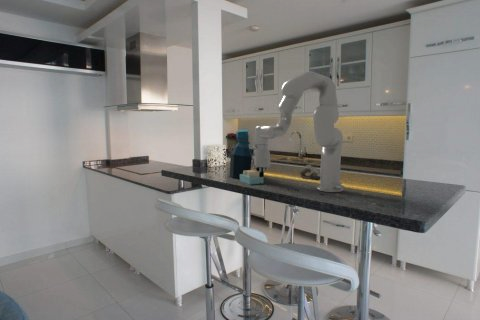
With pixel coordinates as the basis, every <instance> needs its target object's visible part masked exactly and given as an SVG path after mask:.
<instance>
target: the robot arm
mask: <svg viewBox="0 0 480 320" xmlns="http://www.w3.org/2000/svg"><path fill="white" fill-rule="evenodd" d="M308 90H310V91H315V92H318V94H319V95H318V101H319V102H318V103H319V105H318V106H317V107H316V108H315V109H314V111H313V116H312V119H313V130H314V138H315V141H316V143H317V144H318V146H320V147H321V153H320V155H321V156H320V171H321V173H320V179H319V180H320V181H319V185H318V186H316V190H318V191H320V192H325V193H341V192H343V190H344V189H345V185H344V184H342V182H341V181H340V180H341V162H342V161H341V159H342V149H343V141H344V136H343V133H342V131H341V130H340V129H338V128H337V127H335V124H336V123H337V122H338V120H339V116H340V114H339V113H340V112H339V104H338V96H337V89H336V85H335V82H334V81H333V79H332V78H330V77H328V76H326V75H323V74H320V73H319V72H315V71H312V70H311V71H305V72H303V73H301V74H299V75H297V76H294V77H292V78H290V79H288V80H286V81H285V82H284V83H283V85H282V87H281V93H282V95H283V97H282V99H281V101H280V103H279V104H278V106H277V107H278V110H279V113H280V117H279V118H278V119H279V120H278V122H277V124H276V125H256V127H255V131H254V145H253V146H252V148H254V149H253V153H252V159H251V166H252V170H256V171H259V177H265V172H266V170H267V169H270V166H271V164H272V163H271V152H270V149H269V140H277V139H281V138H283V137H285V135H286V133H287V132H288V130H289V128H290V126H291V123H292V118H293V113H294V111H295V110H296V107H297V106H298V104H299V103H300V100H301V98H302V96H303V95H304V92H305V91H308Z"/></svg>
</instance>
